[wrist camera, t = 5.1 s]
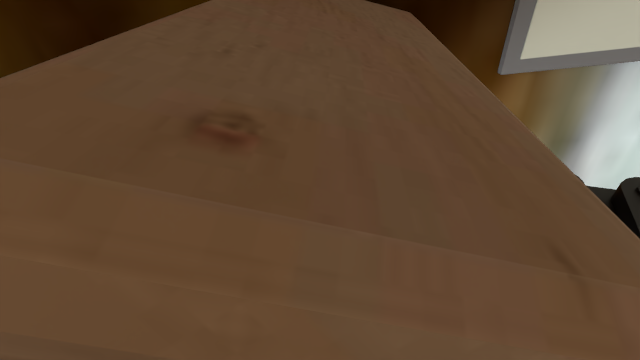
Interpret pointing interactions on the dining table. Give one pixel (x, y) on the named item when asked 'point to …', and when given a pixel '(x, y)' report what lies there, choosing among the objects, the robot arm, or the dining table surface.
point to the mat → (570, 34)
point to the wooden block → (294, 201)
